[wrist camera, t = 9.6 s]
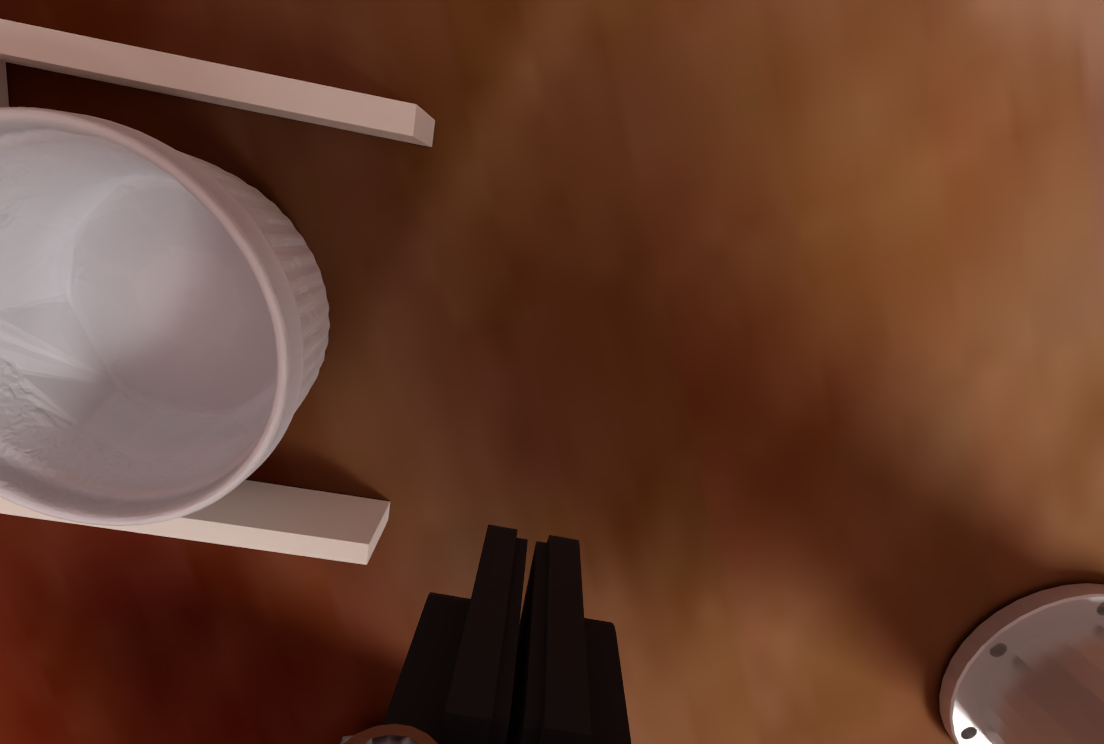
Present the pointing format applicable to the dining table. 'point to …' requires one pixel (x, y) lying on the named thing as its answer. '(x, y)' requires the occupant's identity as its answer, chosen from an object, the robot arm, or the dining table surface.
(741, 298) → the dining table surface
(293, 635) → the dining table surface
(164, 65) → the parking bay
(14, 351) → the ramekin
